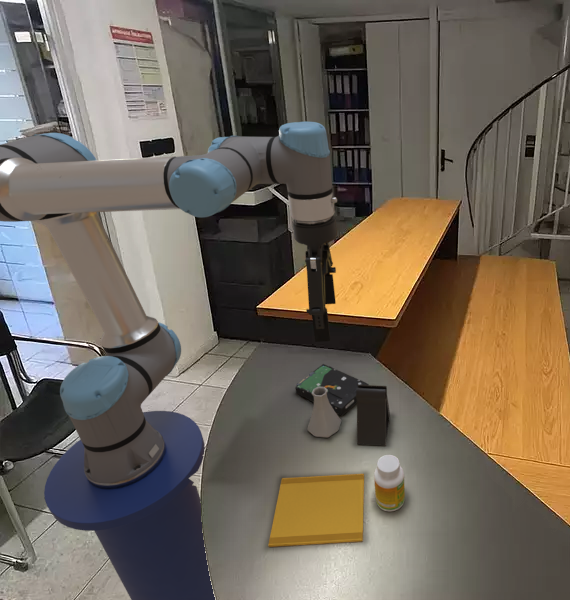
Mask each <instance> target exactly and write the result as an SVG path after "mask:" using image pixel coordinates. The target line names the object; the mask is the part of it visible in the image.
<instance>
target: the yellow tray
mask: <svg viewBox="0 0 570 600" xmlns="http://www.w3.org/2000/svg"><path fill="white" fill-rule="evenodd" d="M277 495H278V496H277V500H276V505H275V511H274V515H273V520H272V525H271V528H270V529H271V530H270V535H269V540H268V548H272V547H290V546H292V547H293V546H305V545H306V546H307V545H324V544H340V543H356V542H357V543H358V542H363V541H364V503H365V502H364V501H365V499H364V498H365V497H364V496H365V473H351V474H335V475H334V474H333V475H315V476H314V475H313V476H299V477H298V476H297V477H296V476H295V477H282V478H281V481H280V485H279V491H278V494H277Z"/></svg>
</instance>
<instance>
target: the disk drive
mask: <svg viewBox="0 0 570 600" xmlns="http://www.w3.org/2000/svg"><path fill="white" fill-rule="evenodd" d="M357 385H370V384H369V383H367V382H366V381H363V380H362V379H359V378H357V377H355V376H352V375H350V374H347V373H345V372H343V371H341V370H338V369H336V368H334V367H332V366H330V365H327V364H324V363H322V364H321V365H319V366H318V367H317V368H315V370H313V371H311V372H310V373H308V375H307V376H306V377H305V378H303V379H302V380H301V381H300V382H299V383H298V382H297V383H296V386H295V394H298V395H299V396H301V397H303V398H305V399H306V400H309V401H311V402H313V403H314V396H313V395H312V391H313V389H315V388H316V387H325V388H326V389H328V392H327V398H328V401H329V403H330V405H331V406H332V408H333V409H334V411H335V412H336V414H337V415H338V416H344V415H345V414H346V413H347V412H349V411H350V410H351V409H352V408H354V406H355V405H357V398H356V390H357V388H358V387H357Z"/></svg>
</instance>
